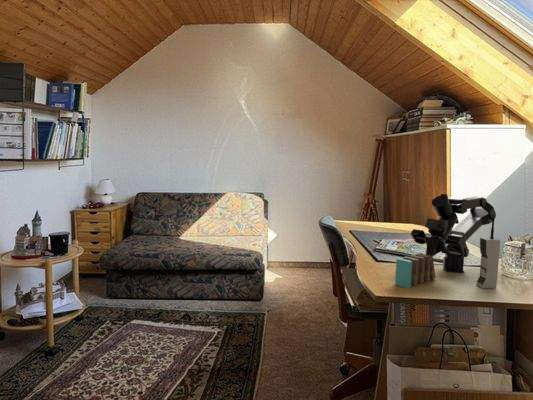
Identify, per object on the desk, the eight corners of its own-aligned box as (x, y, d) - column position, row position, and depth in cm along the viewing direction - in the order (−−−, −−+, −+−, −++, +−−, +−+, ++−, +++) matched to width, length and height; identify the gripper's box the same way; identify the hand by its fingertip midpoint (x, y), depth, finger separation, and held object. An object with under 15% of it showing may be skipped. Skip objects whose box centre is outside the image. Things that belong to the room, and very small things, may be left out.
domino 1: (397, 283, 148) (399, 258, 147) (410, 287, 144) (412, 261, 143) (395, 284, 147) (396, 258, 146) (408, 288, 143) (409, 261, 142)
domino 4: (417, 277, 155) (417, 253, 154) (429, 280, 151) (430, 256, 150) (414, 278, 154) (414, 254, 153) (427, 282, 150) (427, 257, 149)
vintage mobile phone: (476, 285, 148) (481, 213, 145) (489, 285, 148) (495, 213, 146) (482, 288, 144) (488, 215, 142) (496, 288, 145) (502, 215, 142)
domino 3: (410, 279, 153) (412, 255, 152) (423, 283, 149) (425, 257, 148) (408, 280, 152) (409, 255, 151) (421, 284, 148) (422, 258, 147)
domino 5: (422, 274, 158) (419, 253, 155) (435, 277, 154) (432, 256, 151) (420, 276, 157) (417, 255, 154) (433, 280, 153) (430, 258, 150)
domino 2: (404, 281, 150) (405, 256, 149) (417, 285, 146) (418, 259, 145) (401, 282, 149) (403, 257, 148) (414, 286, 145) (416, 260, 144)
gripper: (414, 207, 162) (396, 239, 156) (463, 213, 148) (444, 249, 142) (424, 226, 168) (407, 257, 162) (472, 234, 154) (454, 268, 148)
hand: (427, 257), depth 153 cm, fingers closed
